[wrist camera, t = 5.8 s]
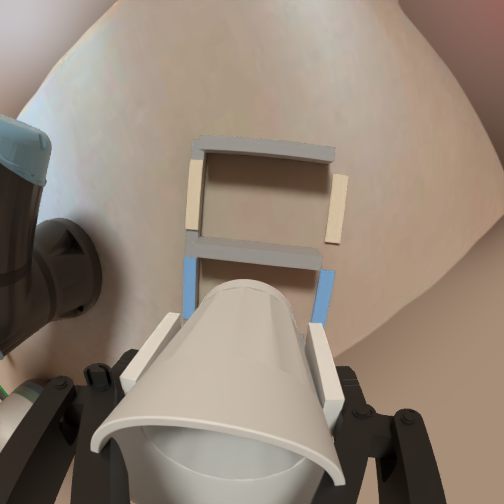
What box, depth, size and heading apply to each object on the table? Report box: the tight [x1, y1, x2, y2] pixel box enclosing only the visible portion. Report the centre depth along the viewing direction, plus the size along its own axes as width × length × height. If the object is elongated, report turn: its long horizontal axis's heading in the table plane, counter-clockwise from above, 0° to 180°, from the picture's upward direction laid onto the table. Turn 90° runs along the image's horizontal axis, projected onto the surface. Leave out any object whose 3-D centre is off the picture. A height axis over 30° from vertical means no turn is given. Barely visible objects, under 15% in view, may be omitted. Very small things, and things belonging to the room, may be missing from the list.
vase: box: [0, 379, 48, 452], centre depth 34 cm, size 17×17×24 cm
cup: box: [91, 279, 345, 504], centre depth 12 cm, size 8×8×12 cm
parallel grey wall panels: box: [183, 135, 348, 351], centre depth 32 cm, size 18×24×4 cm
